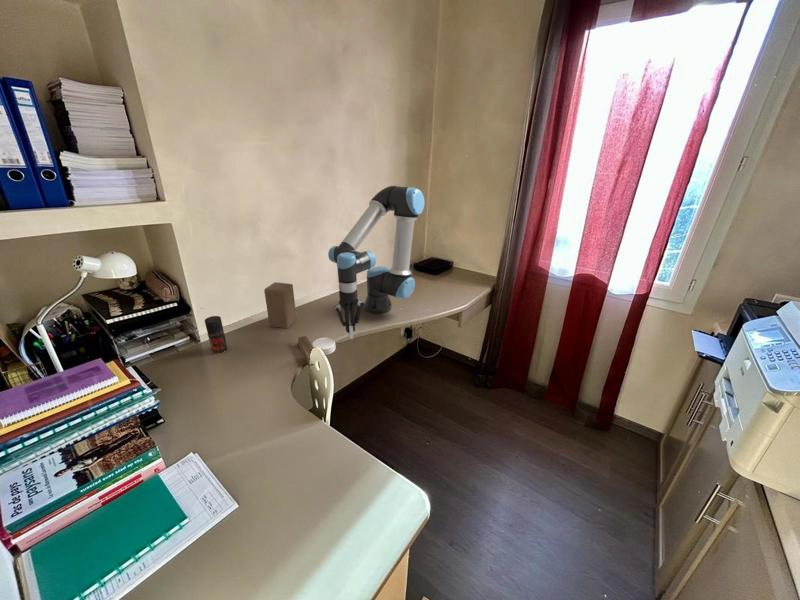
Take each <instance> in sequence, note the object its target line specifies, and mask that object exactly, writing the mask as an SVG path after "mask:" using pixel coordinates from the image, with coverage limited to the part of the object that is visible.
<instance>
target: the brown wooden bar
mask: <svg viewBox="0 0 800 600" xmlns="http://www.w3.org/2000/svg"><path fill="white" fill-rule="evenodd" d="M297 343H298V346H299V348H300V350H301V352H302V354H303V356H304V359H305V361H306V362H307V365H308V366H309V360H310V353H311V351H312V349H313V346H312V342H311V341H310V339H309V337H308V335H303V336H299V337H297Z"/></svg>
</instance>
